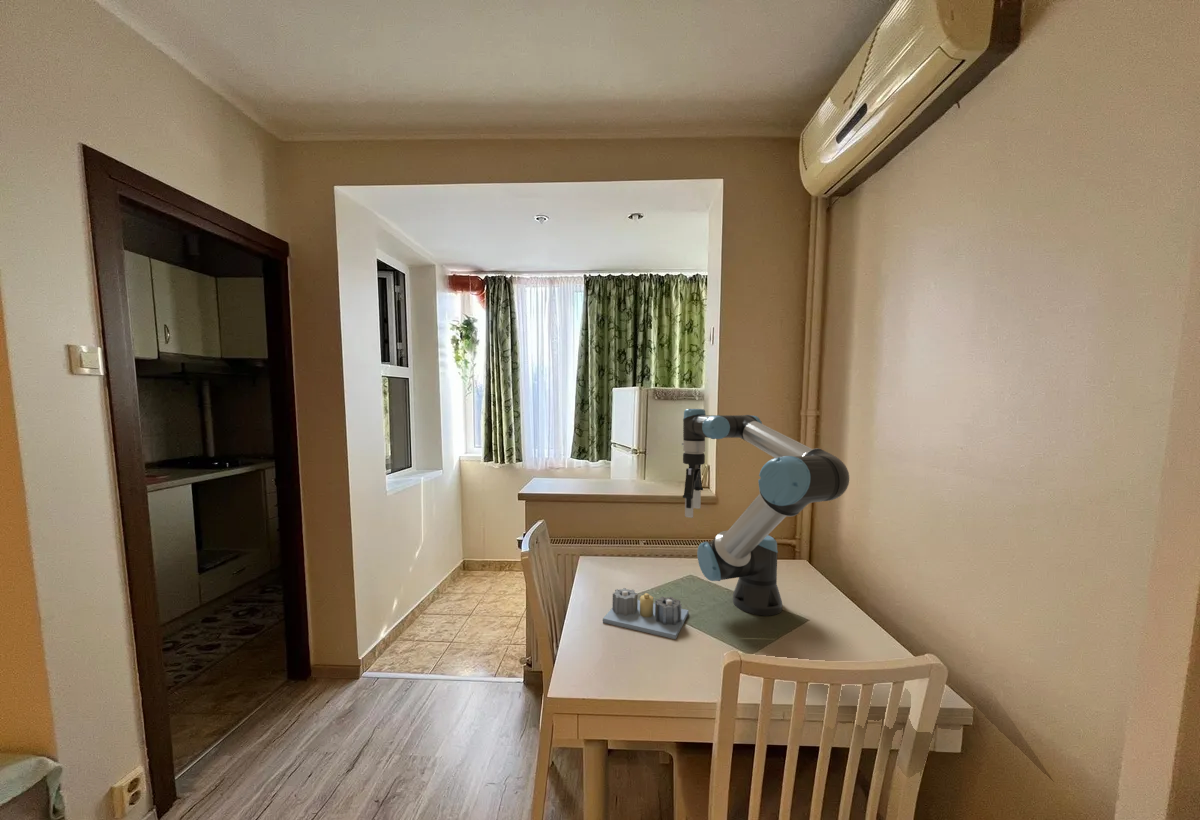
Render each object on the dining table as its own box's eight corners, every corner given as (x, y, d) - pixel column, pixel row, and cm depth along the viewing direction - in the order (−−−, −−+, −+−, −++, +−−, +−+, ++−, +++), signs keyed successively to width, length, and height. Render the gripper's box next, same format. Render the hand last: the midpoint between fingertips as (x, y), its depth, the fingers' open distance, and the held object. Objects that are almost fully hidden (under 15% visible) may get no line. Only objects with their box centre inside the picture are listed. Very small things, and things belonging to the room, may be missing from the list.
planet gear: (654, 612, 134) (654, 596, 134) (678, 613, 133) (678, 596, 133) (656, 625, 126) (657, 607, 126) (682, 625, 126) (682, 608, 126)
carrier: (688, 613, 135) (688, 590, 135) (675, 639, 121) (675, 613, 121) (622, 600, 144) (622, 578, 144) (602, 622, 130) (603, 598, 130)
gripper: (690, 448, 167) (689, 503, 167) (675, 455, 144) (674, 519, 144) (710, 449, 164) (709, 505, 164) (698, 457, 141) (697, 522, 141)
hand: (693, 512), depth 154 cm, fingers open, 13 cm apart
